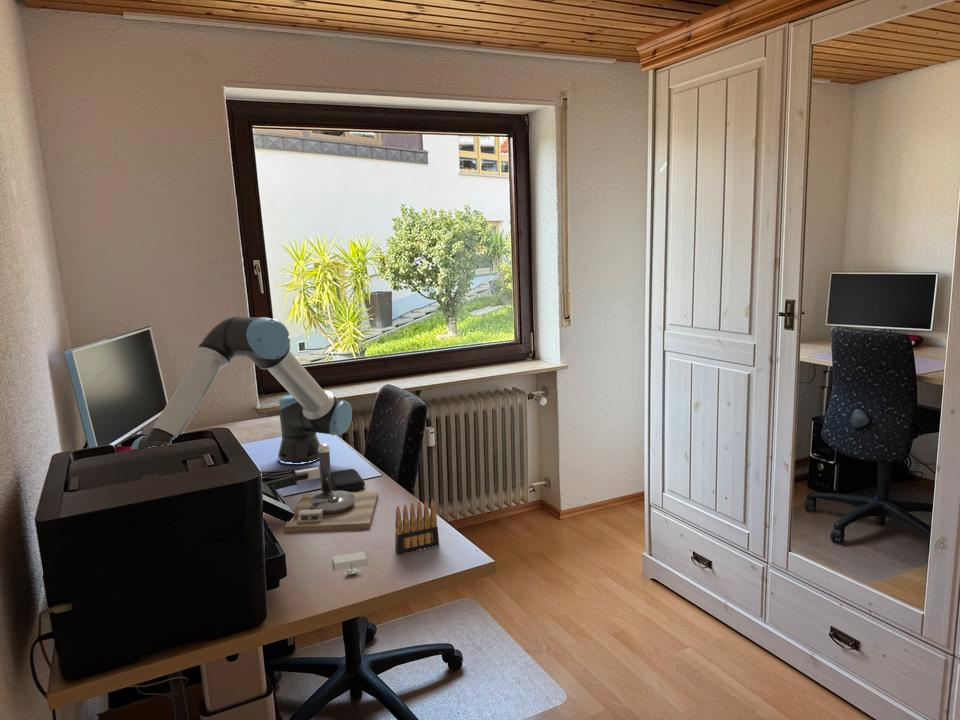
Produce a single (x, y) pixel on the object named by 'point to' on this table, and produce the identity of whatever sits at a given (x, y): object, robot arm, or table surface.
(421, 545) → the ammunition clip
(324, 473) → the grey rod on disc
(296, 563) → the table surface
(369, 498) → the level stand
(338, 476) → the carrying case or bag
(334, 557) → the white sign holder
